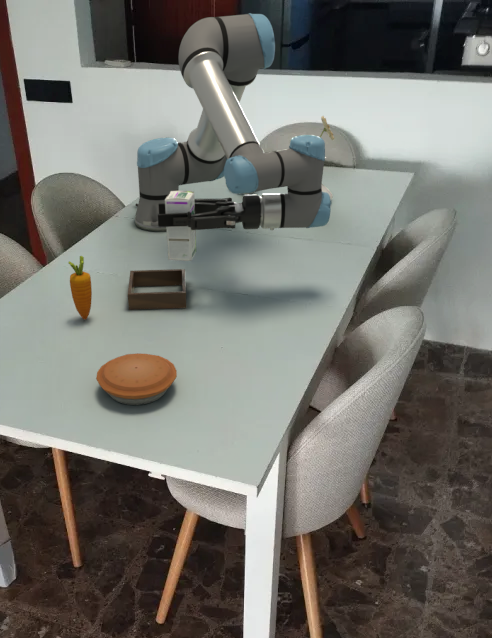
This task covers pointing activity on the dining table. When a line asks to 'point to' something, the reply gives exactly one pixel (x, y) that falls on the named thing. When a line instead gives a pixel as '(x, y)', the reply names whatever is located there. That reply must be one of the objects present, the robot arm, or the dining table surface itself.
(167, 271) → the wooden frame
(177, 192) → the syrup box
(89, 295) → the carrot
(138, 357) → the pie
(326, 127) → the flower in vase
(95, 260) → the dining table surface
